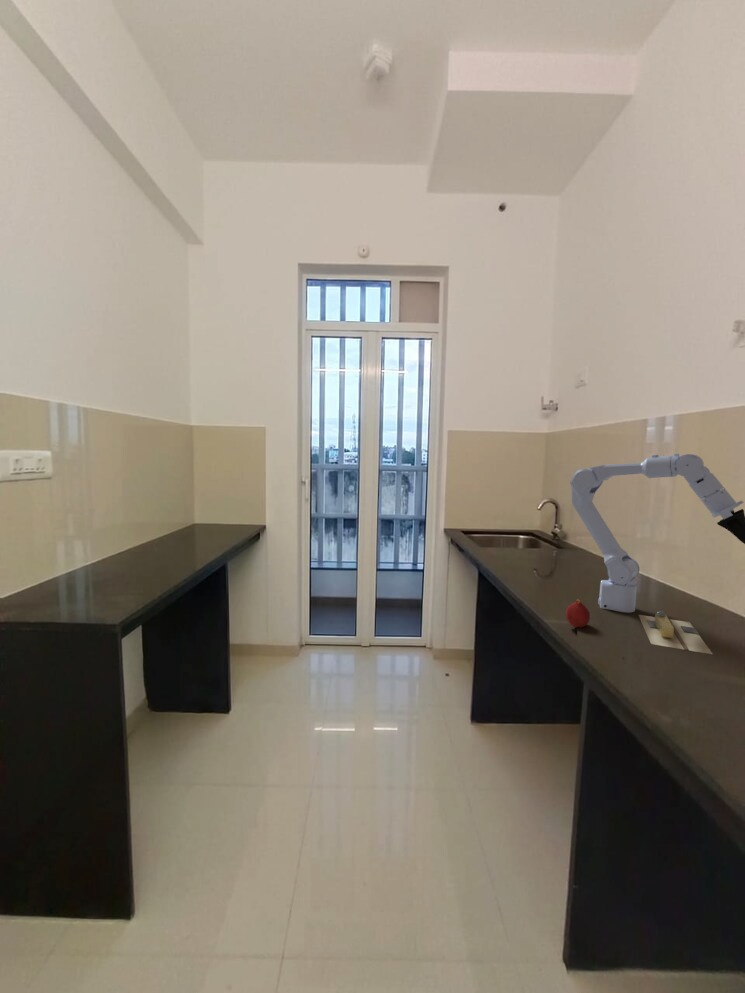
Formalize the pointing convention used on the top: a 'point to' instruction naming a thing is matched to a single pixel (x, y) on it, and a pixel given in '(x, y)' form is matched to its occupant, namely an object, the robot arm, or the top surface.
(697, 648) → the door board
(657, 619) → the swing bar
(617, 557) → the robot arm
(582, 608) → the onion
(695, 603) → the top surface
